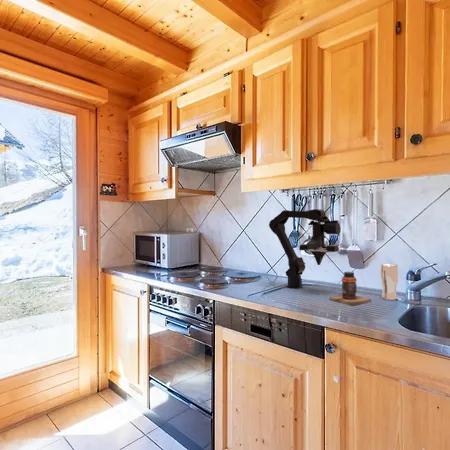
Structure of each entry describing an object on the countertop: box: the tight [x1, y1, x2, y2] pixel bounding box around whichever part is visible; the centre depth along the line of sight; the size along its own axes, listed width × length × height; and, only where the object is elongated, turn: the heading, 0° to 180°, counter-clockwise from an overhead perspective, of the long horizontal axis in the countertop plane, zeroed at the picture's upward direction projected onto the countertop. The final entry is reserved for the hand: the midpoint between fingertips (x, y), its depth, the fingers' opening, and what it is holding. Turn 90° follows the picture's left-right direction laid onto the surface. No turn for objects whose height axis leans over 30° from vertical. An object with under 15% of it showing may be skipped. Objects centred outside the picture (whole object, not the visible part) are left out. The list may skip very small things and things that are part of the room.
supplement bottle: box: [341, 271, 358, 299], centre depth 134 cm, size 6×6×11 cm
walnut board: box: [329, 294, 372, 307], centre depth 134 cm, size 12×12×1 cm
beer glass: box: [379, 263, 399, 301], centre depth 137 cm, size 7×7×15 cm
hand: (318, 264), depth 154 cm, fingers closed
